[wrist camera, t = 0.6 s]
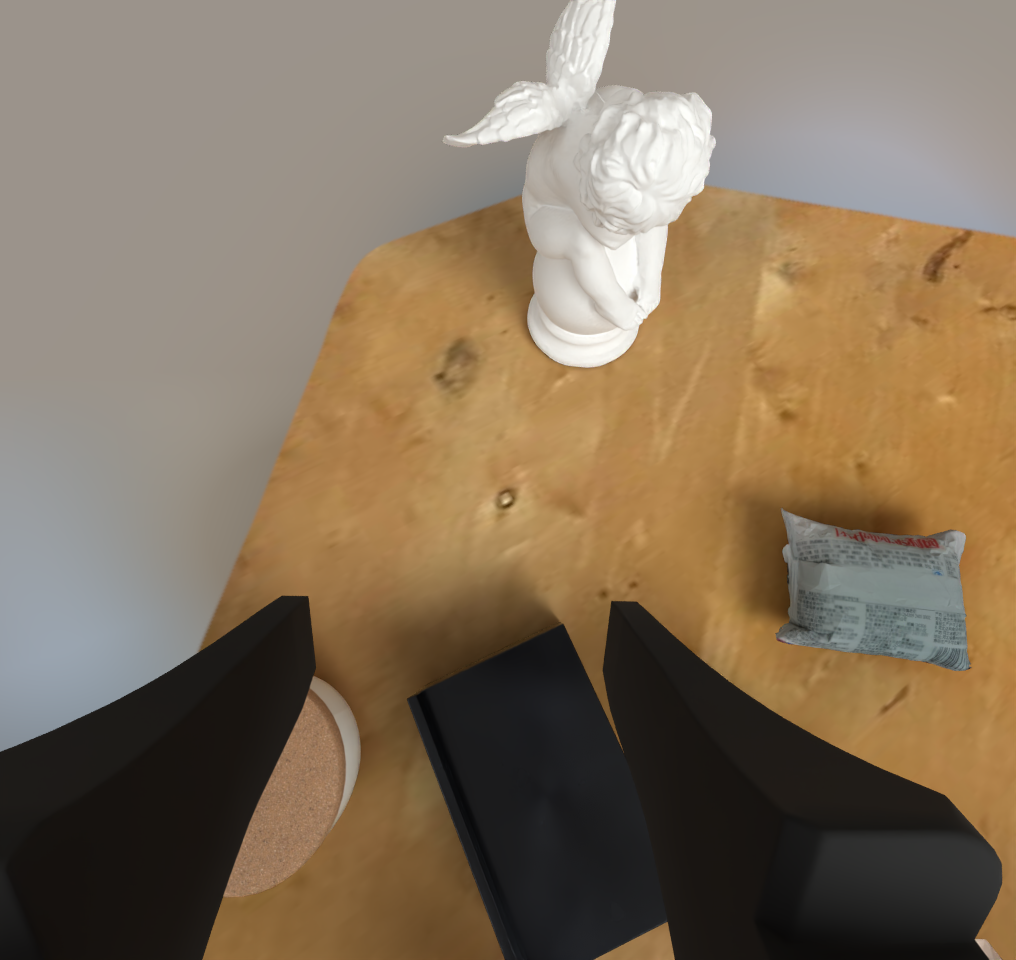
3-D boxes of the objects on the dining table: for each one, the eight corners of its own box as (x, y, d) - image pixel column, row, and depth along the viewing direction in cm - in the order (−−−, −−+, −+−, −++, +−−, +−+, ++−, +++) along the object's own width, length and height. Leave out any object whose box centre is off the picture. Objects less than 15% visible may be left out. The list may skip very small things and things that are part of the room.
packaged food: (765, 514, 37) (799, 501, 32) (943, 536, 36) (1006, 526, 31) (760, 641, 35) (796, 648, 30) (948, 669, 34) (1016, 680, 29)
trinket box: (198, 719, 36) (82, 758, 26) (332, 627, 37) (265, 634, 27) (271, 870, 33) (170, 970, 24) (412, 768, 34) (367, 826, 25)
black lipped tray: (674, 866, 32) (703, 921, 26) (526, 941, 31) (524, 1013, 26) (560, 621, 36) (564, 623, 30) (426, 684, 35) (406, 699, 30)
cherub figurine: (648, 378, 40) (778, 111, 18) (487, 397, 40) (430, 158, 19) (623, 242, 43) (710, -124, 21) (473, 261, 43) (410, -81, 22)
